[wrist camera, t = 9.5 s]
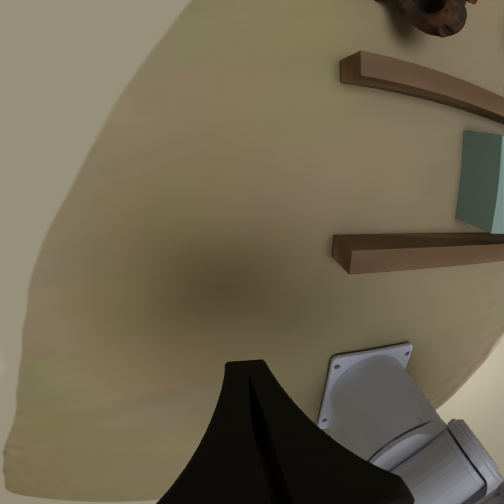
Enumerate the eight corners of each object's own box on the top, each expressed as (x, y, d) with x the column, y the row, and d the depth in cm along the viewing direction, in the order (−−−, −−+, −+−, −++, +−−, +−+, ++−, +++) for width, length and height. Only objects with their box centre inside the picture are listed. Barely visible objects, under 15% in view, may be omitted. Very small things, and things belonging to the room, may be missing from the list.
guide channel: (515, 246, 24) (535, 257, 21) (331, 256, 21) (349, 274, 18) (529, 120, 19) (551, 123, 16) (339, 60, 17) (360, 50, 14)
